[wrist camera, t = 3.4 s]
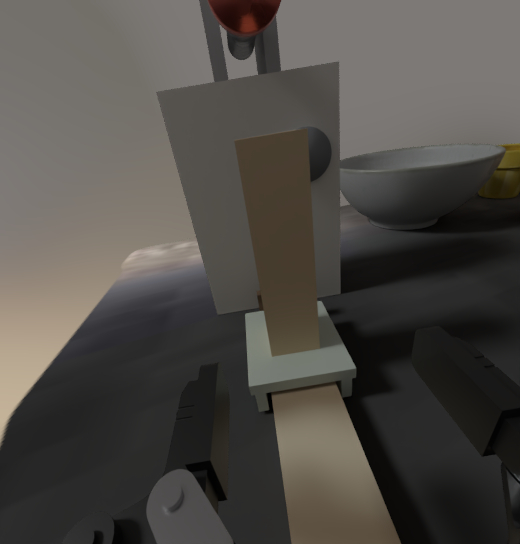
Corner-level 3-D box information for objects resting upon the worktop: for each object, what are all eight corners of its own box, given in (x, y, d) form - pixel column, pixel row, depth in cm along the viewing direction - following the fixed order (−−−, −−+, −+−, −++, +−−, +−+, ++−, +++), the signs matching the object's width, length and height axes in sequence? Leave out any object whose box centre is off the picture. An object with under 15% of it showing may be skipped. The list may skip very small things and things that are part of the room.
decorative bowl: (483, 202, 56) (499, 138, 50) (491, 254, 37) (517, 162, 31) (354, 201, 70) (355, 152, 65) (313, 238, 52) (309, 174, 46)
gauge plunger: (222, 76, 25) (211, 15, 23) (267, 69, 25) (261, 7, 23) (213, 37, 15) (193, -76, 13) (288, 25, 15) (279, -90, 13)
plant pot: (543, 193, 55) (561, 141, 50) (507, 204, 53) (522, 151, 48) (490, 187, 64) (501, 143, 59) (457, 196, 62) (466, 150, 57)
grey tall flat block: (220, 284, 41) (155, 21, 27) (322, 266, 41) (310, -4, 27) (217, 317, 33) (122, -26, 19) (342, 296, 33) (340, -62, 19)
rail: (261, 317, 32) (255, 286, 30) (301, 310, 32) (299, 278, 30) (318, 725, 10) (312, 713, 8) (451, 702, 10) (479, 683, 8)
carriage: (250, 335, 29) (208, 144, 20) (322, 323, 29) (312, 126, 20) (255, 412, 21) (190, 148, 12) (355, 395, 21) (364, 118, 12)
